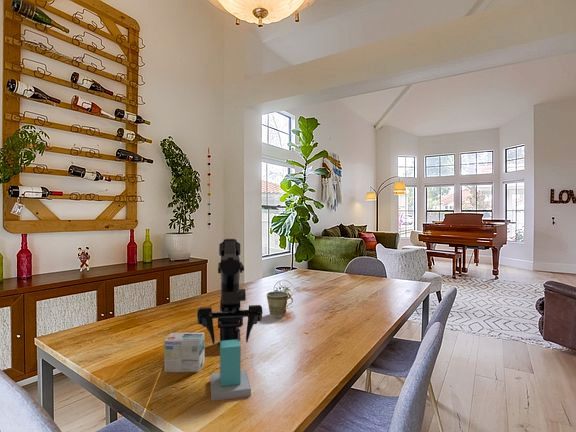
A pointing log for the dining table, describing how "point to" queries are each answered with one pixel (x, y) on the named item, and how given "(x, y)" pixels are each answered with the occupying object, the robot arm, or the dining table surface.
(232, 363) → the teal block
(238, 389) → the grey slab
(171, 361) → the light bulb box
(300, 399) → the dining table surface
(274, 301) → the olive mug
